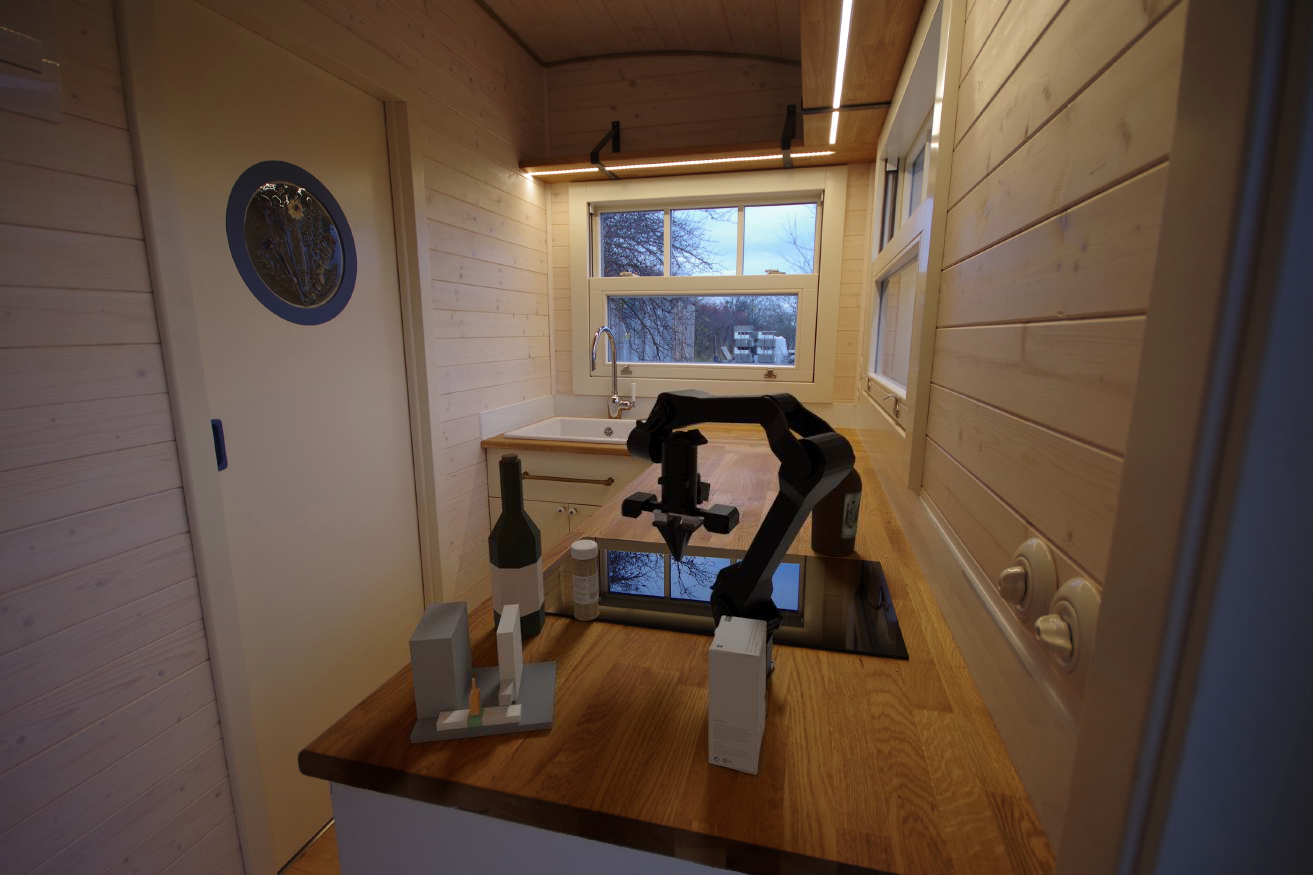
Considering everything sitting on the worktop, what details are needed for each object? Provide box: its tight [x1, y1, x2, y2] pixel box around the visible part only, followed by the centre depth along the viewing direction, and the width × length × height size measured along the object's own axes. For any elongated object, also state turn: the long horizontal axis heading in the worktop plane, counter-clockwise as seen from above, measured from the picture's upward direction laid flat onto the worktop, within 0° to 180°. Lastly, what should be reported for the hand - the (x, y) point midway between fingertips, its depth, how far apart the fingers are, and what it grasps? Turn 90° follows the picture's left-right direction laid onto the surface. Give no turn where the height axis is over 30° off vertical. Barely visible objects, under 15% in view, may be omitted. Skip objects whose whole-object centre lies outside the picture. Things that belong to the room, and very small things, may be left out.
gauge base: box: [408, 600, 558, 744], centre depth 70 cm, size 17×12×12 cm
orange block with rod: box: [469, 678, 481, 715], centre depth 66 cm, size 1×2×4 cm, turn 8°
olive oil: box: [810, 467, 863, 557], centre depth 118 cm, size 11×11×25 cm
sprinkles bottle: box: [570, 539, 600, 622], centre depth 92 cm, size 5×5×14 cm
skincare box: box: [707, 616, 767, 776], centre depth 63 cm, size 8×6×15 cm
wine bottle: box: [487, 452, 546, 641], centre depth 86 cm, size 8×8×30 cm
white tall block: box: [496, 604, 524, 706], centre depth 70 cm, size 2×10×10 cm, turn 8°
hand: (678, 560), depth 87 cm, fingers closed
